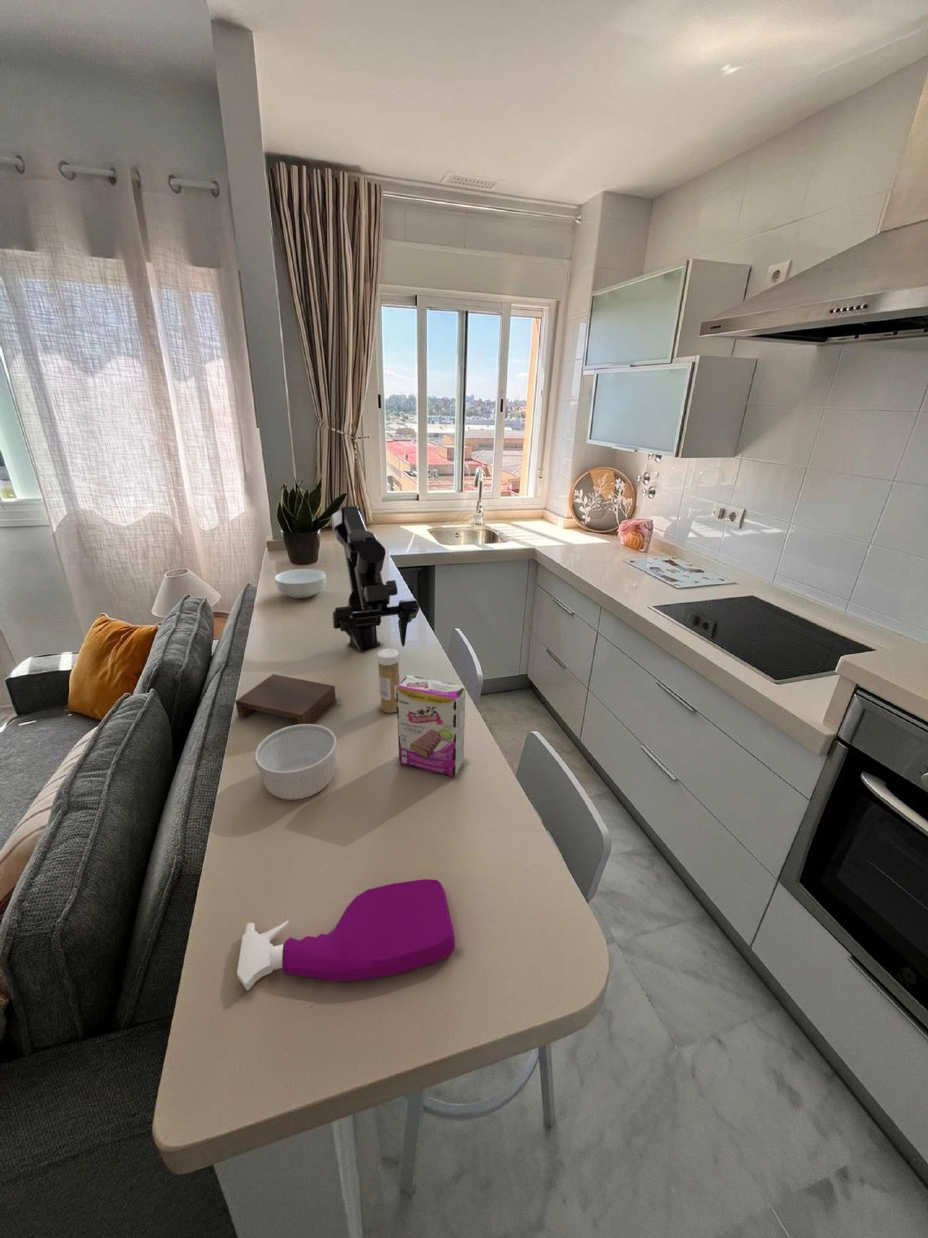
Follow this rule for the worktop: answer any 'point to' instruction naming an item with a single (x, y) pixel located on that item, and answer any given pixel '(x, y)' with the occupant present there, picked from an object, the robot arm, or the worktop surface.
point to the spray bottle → (361, 938)
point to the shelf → (288, 698)
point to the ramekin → (297, 760)
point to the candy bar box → (431, 724)
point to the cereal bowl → (300, 582)
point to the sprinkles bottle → (388, 678)
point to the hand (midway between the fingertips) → (382, 648)
